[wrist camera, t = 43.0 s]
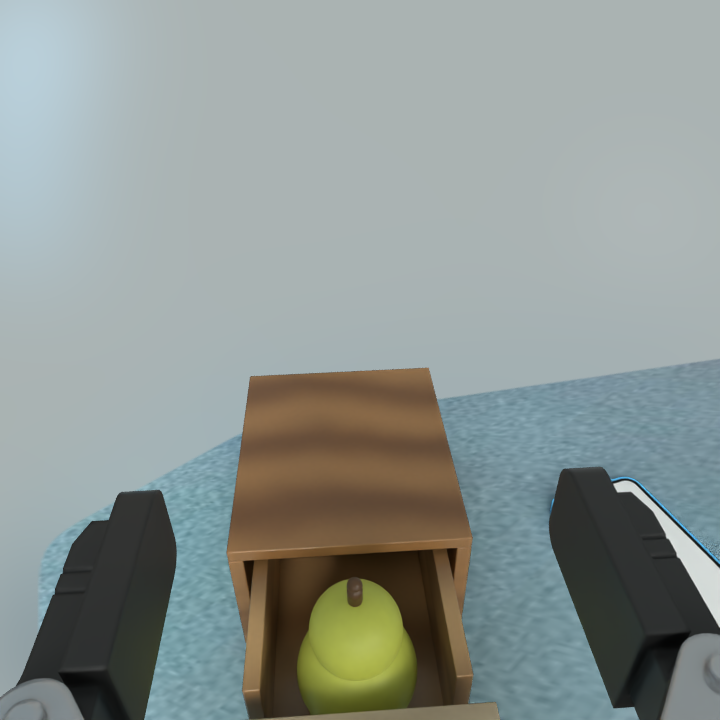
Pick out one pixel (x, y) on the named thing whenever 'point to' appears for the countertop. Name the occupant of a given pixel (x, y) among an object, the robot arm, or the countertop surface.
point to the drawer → (420, 620)
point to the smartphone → (681, 546)
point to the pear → (356, 652)
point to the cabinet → (344, 473)
